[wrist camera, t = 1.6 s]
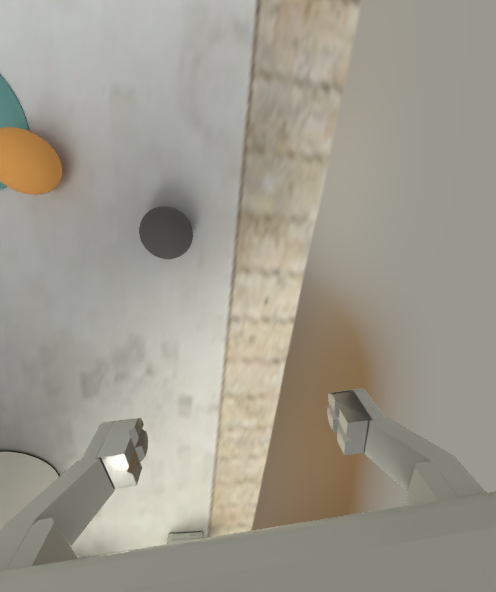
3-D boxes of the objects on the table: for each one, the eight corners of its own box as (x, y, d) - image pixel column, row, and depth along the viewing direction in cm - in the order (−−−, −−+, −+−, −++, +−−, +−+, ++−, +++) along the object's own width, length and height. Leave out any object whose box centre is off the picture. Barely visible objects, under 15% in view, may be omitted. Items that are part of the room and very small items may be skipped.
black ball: (183, 260, 31) (177, 273, 26) (139, 240, 30) (124, 248, 25) (202, 220, 30) (199, 225, 25) (157, 196, 28) (144, 196, 23)
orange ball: (65, 204, 28) (30, 205, 22) (8, 177, 26) (-43, 172, 21) (80, 155, 26) (47, 144, 21) (20, 123, 24) (-32, 102, 19)
